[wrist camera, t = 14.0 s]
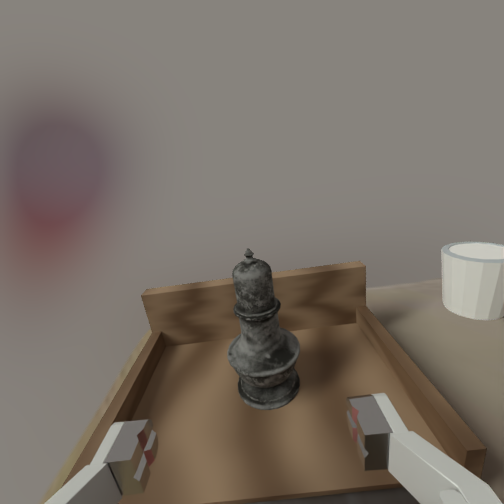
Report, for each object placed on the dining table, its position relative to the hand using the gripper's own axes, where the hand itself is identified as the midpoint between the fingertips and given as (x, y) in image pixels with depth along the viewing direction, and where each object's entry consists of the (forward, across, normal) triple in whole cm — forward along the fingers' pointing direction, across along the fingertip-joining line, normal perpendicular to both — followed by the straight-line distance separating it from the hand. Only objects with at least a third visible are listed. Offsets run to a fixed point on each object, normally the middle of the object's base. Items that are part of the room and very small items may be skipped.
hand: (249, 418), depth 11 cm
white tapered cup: (+18, -25, +9) cm, 32 cm away
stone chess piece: (+9, -1, +8) cm, 12 cm away
